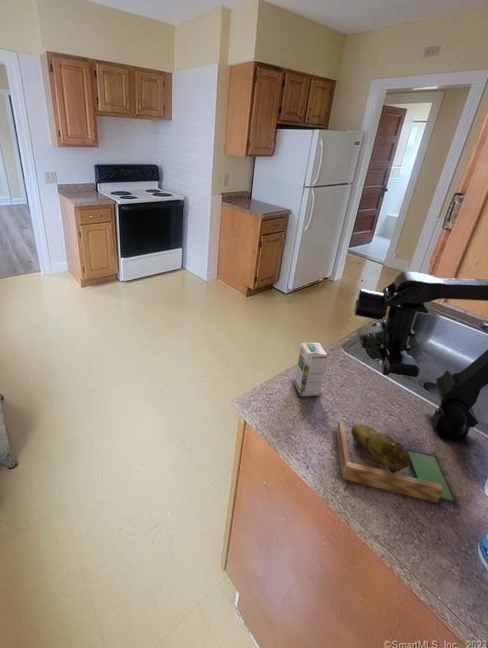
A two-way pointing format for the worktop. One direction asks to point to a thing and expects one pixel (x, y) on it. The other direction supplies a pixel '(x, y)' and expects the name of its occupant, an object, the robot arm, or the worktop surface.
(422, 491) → the corner guard
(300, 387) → the syrup box
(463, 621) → the worktop surface
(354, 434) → the olive green tapered piece
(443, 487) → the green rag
